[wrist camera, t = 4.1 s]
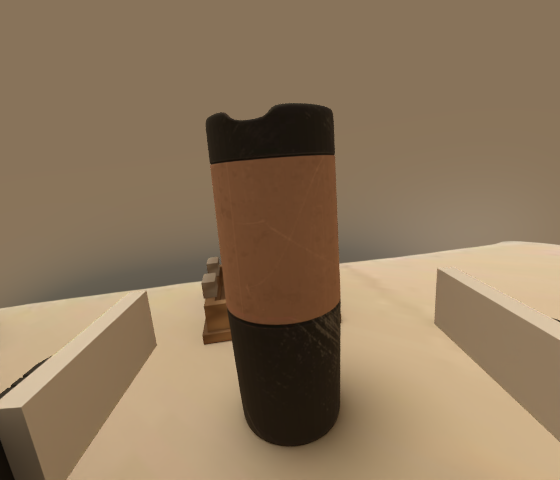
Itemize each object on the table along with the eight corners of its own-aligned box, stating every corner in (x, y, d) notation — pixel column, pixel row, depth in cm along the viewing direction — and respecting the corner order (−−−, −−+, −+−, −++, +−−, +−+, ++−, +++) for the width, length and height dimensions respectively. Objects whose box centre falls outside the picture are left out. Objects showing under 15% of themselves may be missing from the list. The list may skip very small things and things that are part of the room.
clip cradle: (203, 344, 30) (196, 292, 29) (212, 289, 45) (207, 253, 43) (341, 322, 32) (339, 273, 31) (307, 277, 47) (305, 242, 46)
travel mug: (303, 358, 27) (289, 128, 22) (366, 413, 20) (364, 105, 16) (225, 393, 23) (188, 128, 19) (271, 475, 17) (232, 98, 12)
